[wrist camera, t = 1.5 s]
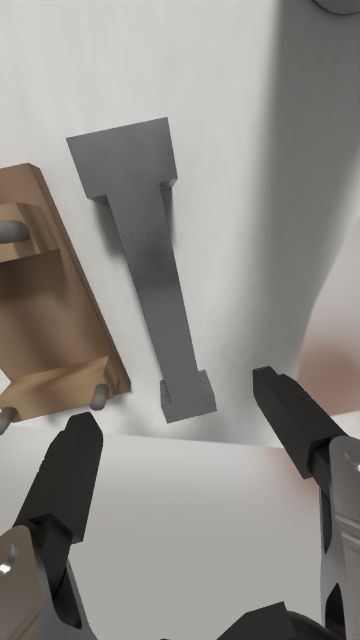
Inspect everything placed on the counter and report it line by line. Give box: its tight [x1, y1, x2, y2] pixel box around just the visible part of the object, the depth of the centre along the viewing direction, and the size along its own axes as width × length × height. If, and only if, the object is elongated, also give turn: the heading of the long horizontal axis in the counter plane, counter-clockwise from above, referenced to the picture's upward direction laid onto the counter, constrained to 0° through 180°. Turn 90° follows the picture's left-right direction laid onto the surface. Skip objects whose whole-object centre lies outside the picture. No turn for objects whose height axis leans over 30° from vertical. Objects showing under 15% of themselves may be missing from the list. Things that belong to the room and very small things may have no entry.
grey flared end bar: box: [66, 117, 217, 424], centre depth 19 cm, size 6×26×4 cm, turn 11°
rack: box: [0, 163, 131, 435], centre depth 17 cm, size 11×22×6 cm, turn 11°
